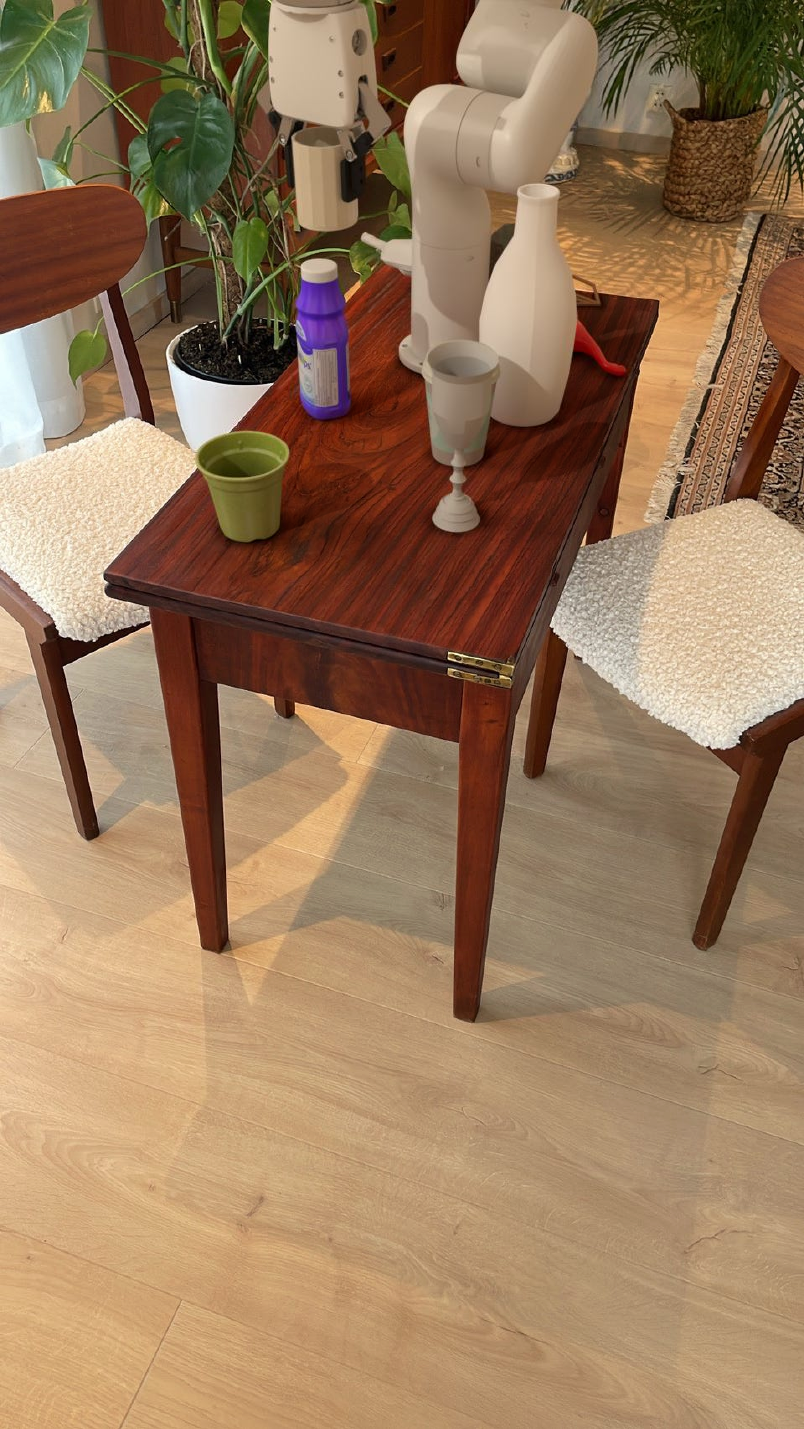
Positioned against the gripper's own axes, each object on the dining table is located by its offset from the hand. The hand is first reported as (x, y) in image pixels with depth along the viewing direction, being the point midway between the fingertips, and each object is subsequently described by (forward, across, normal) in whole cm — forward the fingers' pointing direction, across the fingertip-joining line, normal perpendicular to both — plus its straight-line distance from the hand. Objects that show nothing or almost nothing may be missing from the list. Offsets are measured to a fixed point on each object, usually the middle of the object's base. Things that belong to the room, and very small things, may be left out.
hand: (326, 189), depth 117 cm
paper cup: (+3, 0, 0) cm, 3 cm away
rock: (+23, -2, -33) cm, 40 cm away
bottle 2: (+28, -15, -16) cm, 36 cm away
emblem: (+28, -3, -49) cm, 57 cm away
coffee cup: (+28, -14, -3) cm, 31 cm away
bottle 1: (+28, +4, -3) cm, 28 cm away
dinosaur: (+26, -9, -37) cm, 46 cm away
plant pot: (+27, -5, +22) cm, 35 cm away
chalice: (+27, -22, +8) cm, 36 cm away
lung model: (+23, -1, -37) cm, 43 cm away
